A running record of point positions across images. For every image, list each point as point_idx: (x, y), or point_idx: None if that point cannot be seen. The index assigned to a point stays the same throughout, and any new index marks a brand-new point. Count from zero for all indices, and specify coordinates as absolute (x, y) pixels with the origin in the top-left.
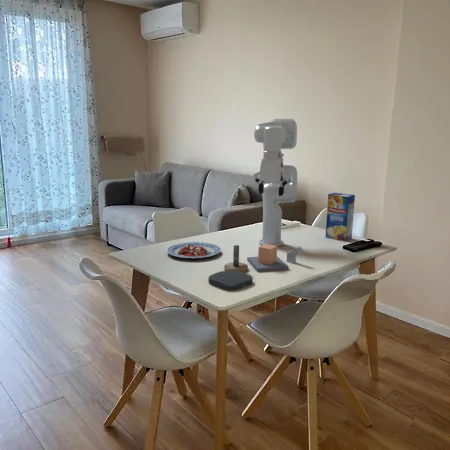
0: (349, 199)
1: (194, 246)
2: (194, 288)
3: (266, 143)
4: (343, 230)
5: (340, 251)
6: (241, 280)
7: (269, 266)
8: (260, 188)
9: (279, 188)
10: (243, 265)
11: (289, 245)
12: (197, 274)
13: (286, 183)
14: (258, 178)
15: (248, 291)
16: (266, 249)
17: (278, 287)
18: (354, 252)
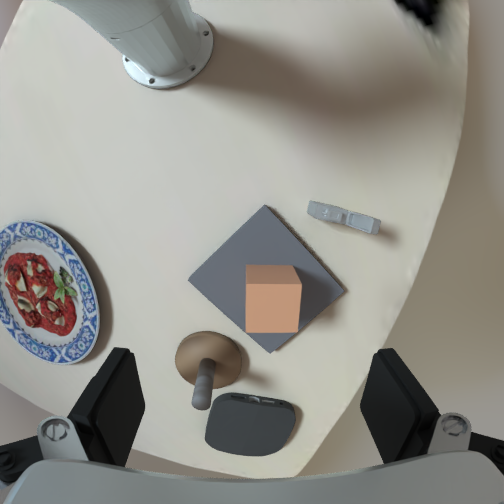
0: None
1: (17, 271)
2: (209, 461)
3: None
4: None
5: (404, 33)
6: (281, 437)
7: None
8: (130, 448)
9: (391, 461)
10: (223, 352)
11: (235, 31)
12: (159, 417)
13: (489, 446)
14: (12, 483)
15: (304, 436)
16: (278, 330)
17: (352, 396)
18: (435, 33)
